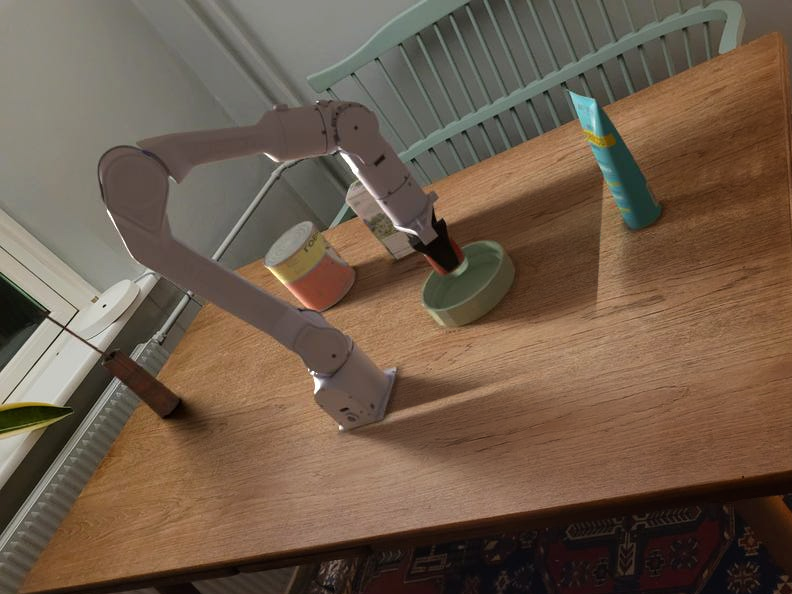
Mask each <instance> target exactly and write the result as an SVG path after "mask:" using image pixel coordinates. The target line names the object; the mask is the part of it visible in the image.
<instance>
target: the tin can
mask: <svg viewBox="0 0 792 594" xmlns="http://www.w3.org/2000/svg"><path fill="white" fill-rule="evenodd" d="M448 236H449V240H450V242H451V245H452V247H453V249H454V251H455V253H456V255H457V257H458V259H459V262H460V264H459V265H458V266H456V267H455V268H454V269H452V270H451V271H450V272H447V271H446V270H444V269H443V268H442V267H440V266H439V265H438V264H437V263H436V262H435V261H433V260H432V259H431V258H430V257H428V256H426V255H425V254H423V256H424V257H425V258H426V260H427V261H428V262H429V263H430V265H431V266H432V267H433V268H434V269H435V270H436V271H437V272H438V273H439V274H440V276H441V277H442V278H443V279H444V280H452V279H454V278H456V277H458V276H459V275H461V274H462V273H463V272H464V271H465V270H466V268H467V267H468V265H469V259H468V258H467V256H466V255H465V253H464V252H463V251H462V249H461V247H460V245H459V244H458V242H457V241H456V240H455V238H454V237H453V236H452V234H451V233H450V231H448Z"/></svg>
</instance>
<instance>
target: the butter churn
mask: <svg viewBox="0 0 792 594" xmlns="http://www.w3.org/2000/svg"><path fill="white" fill-rule="evenodd" d="M38 314H40V315H41V316H43V317H44V318H45V319H47V320H49V321H50V322H51V323H53V324H55V325H56V326H58V327H59V328H61V329H62V330H64V331H65V332H67V333H69V334H70V335H72V336H74V338H76V339H78V340H79V341H80V342H82V343H84V344H85V345H87V346H88V347H89V348H91V349H93V350H94V351H96V352H97V353H98V354H100V355H101V356H103V357H105V358H104V359H103V361H102V362H101V365H102V366H103V367H104V368H105V370H107V371H108V372H109V373H110V374H112V376H114V378H115V377H116V379H118V380H119V381H120V382H121V383H122V384H123V386H125V387H126V388H127V389H128V390H129V391H131V393H133V394H134V395H135V396H137V397H138V399H140V400H141V401H142V403H144V404H145V405H146V406H147V407H148V408H149V409H150V410H152V411H153V412H154V413H155V414H156V415H157V416H158V417H159V418H164V417H165V416H168V415H170V414H171V413H172V412H173V411H174V409H175V408H176V407H177V406H178V405H179V403H180V397H179V396H178V395H177V394H176V393H175V392H173V391H172V390H171V389H170V388H169V387H167V386H166V385H165V384H164V383H163V382H161V381H160V380H158V379H157V378H156V377H154V375H153V374H151V373H150V372H149V371H148V370H146V369H145V368H144V367H143V366H142V365H140V364H139V363H138V362H136V361H135V360H134V359H133V358H131V357H130V356H128V355H127V354H126V353H125V352H123V351H121V348H117V349H114V350H112V351H110V352H109V353H108V354H107V353H105V352H104V351H102V350H101V349H99V348H98V347H97V346H95V345H93V344H92V343H90V342H89V341H87V340H86V339H85V338H82V337H81V336H80V335H78V334H76V332H74V331H72V330H70V329H69V328H68V327H67V326H65V325H63V324H62V323H60V322H59V321H57V320H56V319H54V318H53V317H51V316H50V315H48V314H47V313H46V312H44V311H42V310H39V311H38Z"/></svg>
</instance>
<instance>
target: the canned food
mask: <svg viewBox="0 0 792 594" xmlns="http://www.w3.org/2000/svg"><path fill="white" fill-rule="evenodd" d="M262 264H263V266H264V267H265V268H267V269H268V270H269V271H270V272H271V273H272V274H273V275H274V277H276V278H277V279H278V280H279V281H280V283H282V284H283V286H285V287H286V288H287V289H288V290H289V291H290V292H291V293H292V294H293V295H294V297H296V298H297V300H299V301H300V302H301V303H302V305H303V306H304V307H305V308H310V309H314V310H316V311H318V312H319V313H321V312H324V311H326V310H328V309H330V308H331V307H333V306H335V305H336V304H337V303H338V302H339V301H341V300H342V299H343V298H344V297H345V296H346V294H348V292H349V291H350V289H351V288H352V286H354V285H353V284H354V283H355V280H356V277H357V273H356V270H355V268H353V267H351V265H350V264H349V263H348V262H347V261H346V260H345V259H344V257H343V256H342V255H341V254H340V253H339V252H338V251H337V249H335V247H334V246H333V245H332V244H331V243H330V242H329V240H328V239H327V238H326V237H325V236H324V235H323V234H322V232H321V231H320V230H319V229H318V228H317V227H316V226H315V225H314V223H313V222H312V221H309V220H306V221H305V220H304V221H302V222H299V223H297V224H295V225H294V226H292V227H290V228H289V229H287V230H286V231H284V232H283V233H282V234H281V235H280V236H279V237H278V238H277V239H276V240H275V241H274V242H273V243H272V244H271V246H269V248H268V249H267V252H266V253H265V254H264V257H263V260H262Z"/></svg>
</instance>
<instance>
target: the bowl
mask: <svg viewBox="0 0 792 594" xmlns="http://www.w3.org/2000/svg"><path fill="white" fill-rule="evenodd" d="M460 248H461V249H462V251H463V252H464V253H465V255H466V256H467V258H468V259H469V265H468V267H467V268H466V270H465V271H464V272H463V273H462V274H461V275H459V276H458V277H456V278H454V279H452V280H444V279H443V278H442V277H441V276H440V274H439V273H438V272H437V271H436V270H435V268H434V269H433V270H432V271H431V272H430V273H429V275H428V277H427V278H426V280H425V282H424V283H423V284H422V288H421V292H420V303H421V305H422V306H423V307H424V309H425V310H426V312H428V313H429V315H430V316H431V317H432V318H433V319H434V320H435V322H436V323H437V324H438V325H440V326H442V327H446V328H456V327H459V328H460V327H462V326H465V325H468V324H471V323H473V322H475V321H476V320H479V319H480V318H482V317H484V316H486V315H487V314H488V313H489V312H490V311H492V310H493V309H494V308H495V307H497V306H498V304H499V303H500V302H501V301H502V300H503V299H504V298H505V296H506V295H507V294H508V292H509V291H510V289H511V287H512V286H513V283H514V281H515V275H516V267H515V263H514V261H512V259H511V257H510V256H509V254H508V253H507V251H506V250H505V249H504V247H503V246H502V245H501V244H500V243H498V241H495V240H491V239H483V240H477V241H473V242H470V243H468V244H466V245H463V246H461V247H460Z"/></svg>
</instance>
